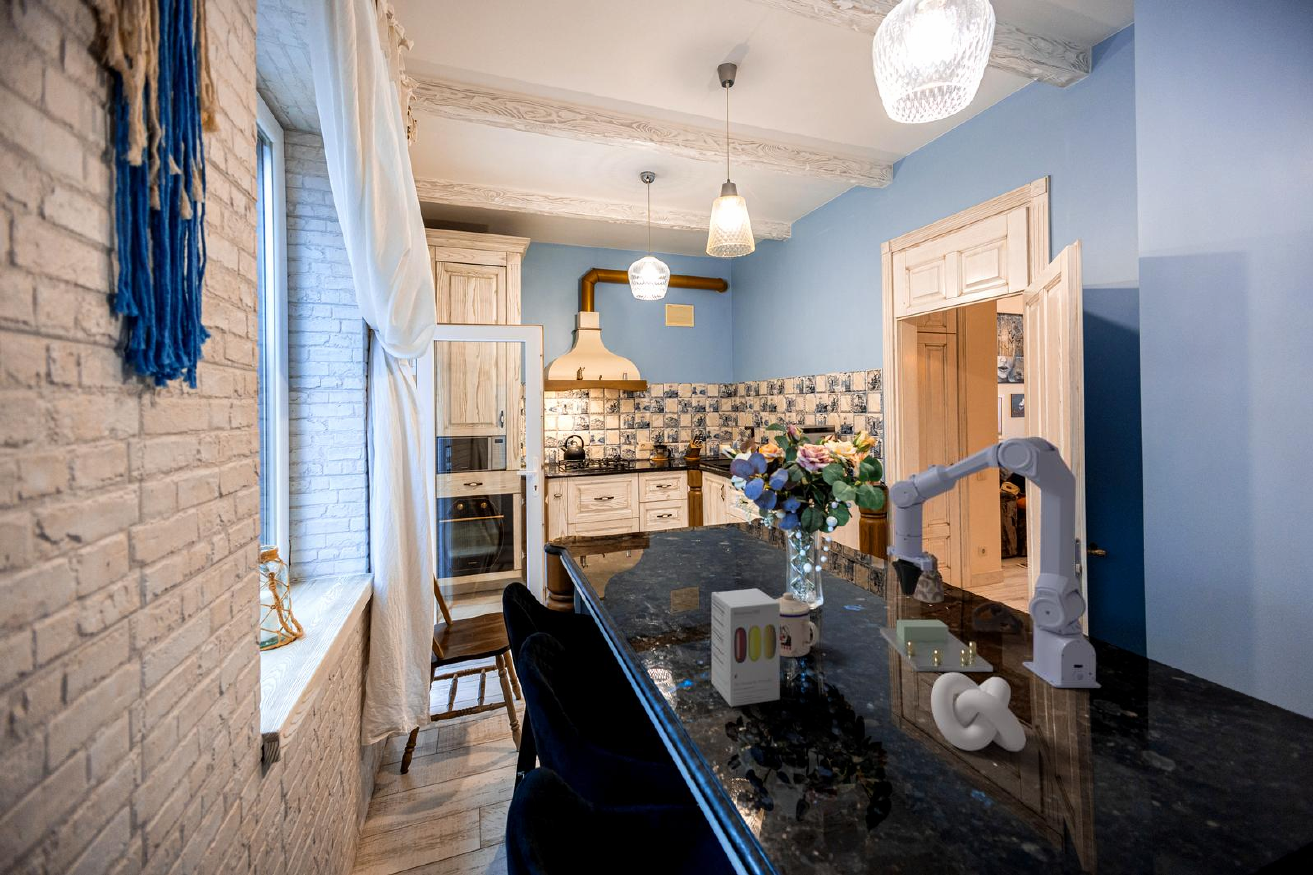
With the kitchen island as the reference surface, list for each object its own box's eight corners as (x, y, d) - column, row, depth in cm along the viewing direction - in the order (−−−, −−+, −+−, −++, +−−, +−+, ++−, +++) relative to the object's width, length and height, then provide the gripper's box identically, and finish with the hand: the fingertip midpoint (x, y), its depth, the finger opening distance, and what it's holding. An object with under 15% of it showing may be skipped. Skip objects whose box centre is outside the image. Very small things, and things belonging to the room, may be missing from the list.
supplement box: (730, 708, 92) (728, 607, 92) (710, 683, 101) (708, 591, 100) (782, 699, 95) (781, 602, 94) (758, 676, 103) (757, 586, 103)
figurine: (915, 601, 144) (915, 555, 144) (911, 593, 151) (911, 549, 150) (946, 603, 142) (946, 557, 141) (940, 595, 149) (940, 550, 148)
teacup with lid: (757, 647, 116) (756, 592, 116) (786, 637, 122) (786, 584, 121) (802, 667, 107) (801, 607, 106) (832, 655, 112) (831, 598, 112)
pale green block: (948, 641, 116) (948, 626, 116) (904, 640, 116) (904, 626, 116) (939, 633, 120) (939, 619, 120) (896, 633, 120) (896, 619, 120)
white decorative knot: (943, 710, 90) (943, 656, 90) (1032, 735, 83) (1032, 676, 83) (925, 742, 82) (925, 682, 81) (1022, 773, 74) (1022, 707, 74)
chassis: (992, 671, 104) (992, 653, 104) (916, 671, 104) (916, 653, 104) (944, 632, 123) (944, 617, 123) (880, 632, 123) (880, 617, 123)
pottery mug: (1033, 650, 114) (1012, 616, 114) (985, 660, 119) (965, 627, 119) (1027, 617, 124) (1008, 586, 124) (984, 628, 129) (965, 598, 129)
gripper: (945, 540, 118) (945, 603, 118) (906, 527, 132) (906, 583, 132) (914, 541, 117) (914, 605, 117) (878, 528, 131) (878, 585, 132)
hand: (908, 594), depth 125 cm, fingers closed
